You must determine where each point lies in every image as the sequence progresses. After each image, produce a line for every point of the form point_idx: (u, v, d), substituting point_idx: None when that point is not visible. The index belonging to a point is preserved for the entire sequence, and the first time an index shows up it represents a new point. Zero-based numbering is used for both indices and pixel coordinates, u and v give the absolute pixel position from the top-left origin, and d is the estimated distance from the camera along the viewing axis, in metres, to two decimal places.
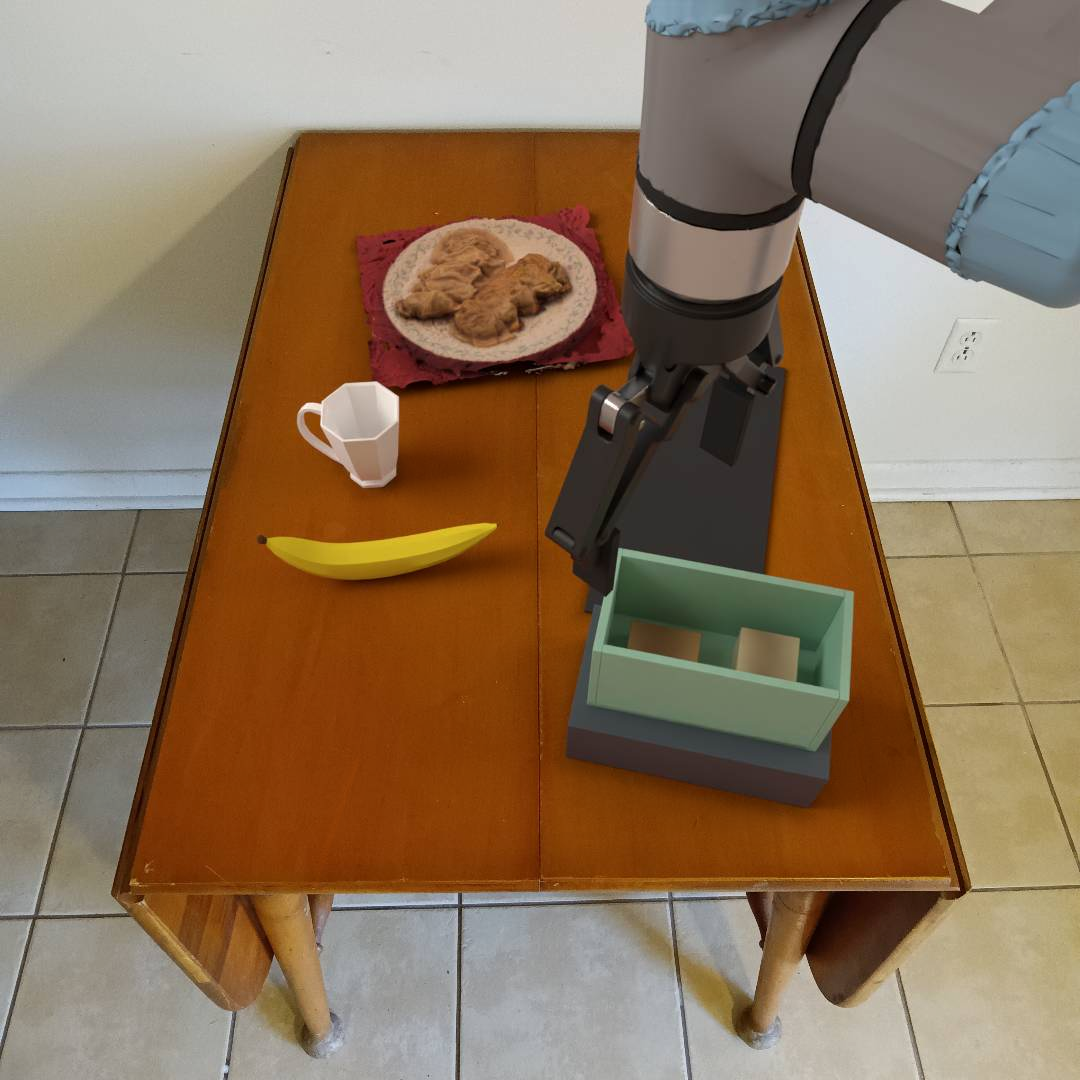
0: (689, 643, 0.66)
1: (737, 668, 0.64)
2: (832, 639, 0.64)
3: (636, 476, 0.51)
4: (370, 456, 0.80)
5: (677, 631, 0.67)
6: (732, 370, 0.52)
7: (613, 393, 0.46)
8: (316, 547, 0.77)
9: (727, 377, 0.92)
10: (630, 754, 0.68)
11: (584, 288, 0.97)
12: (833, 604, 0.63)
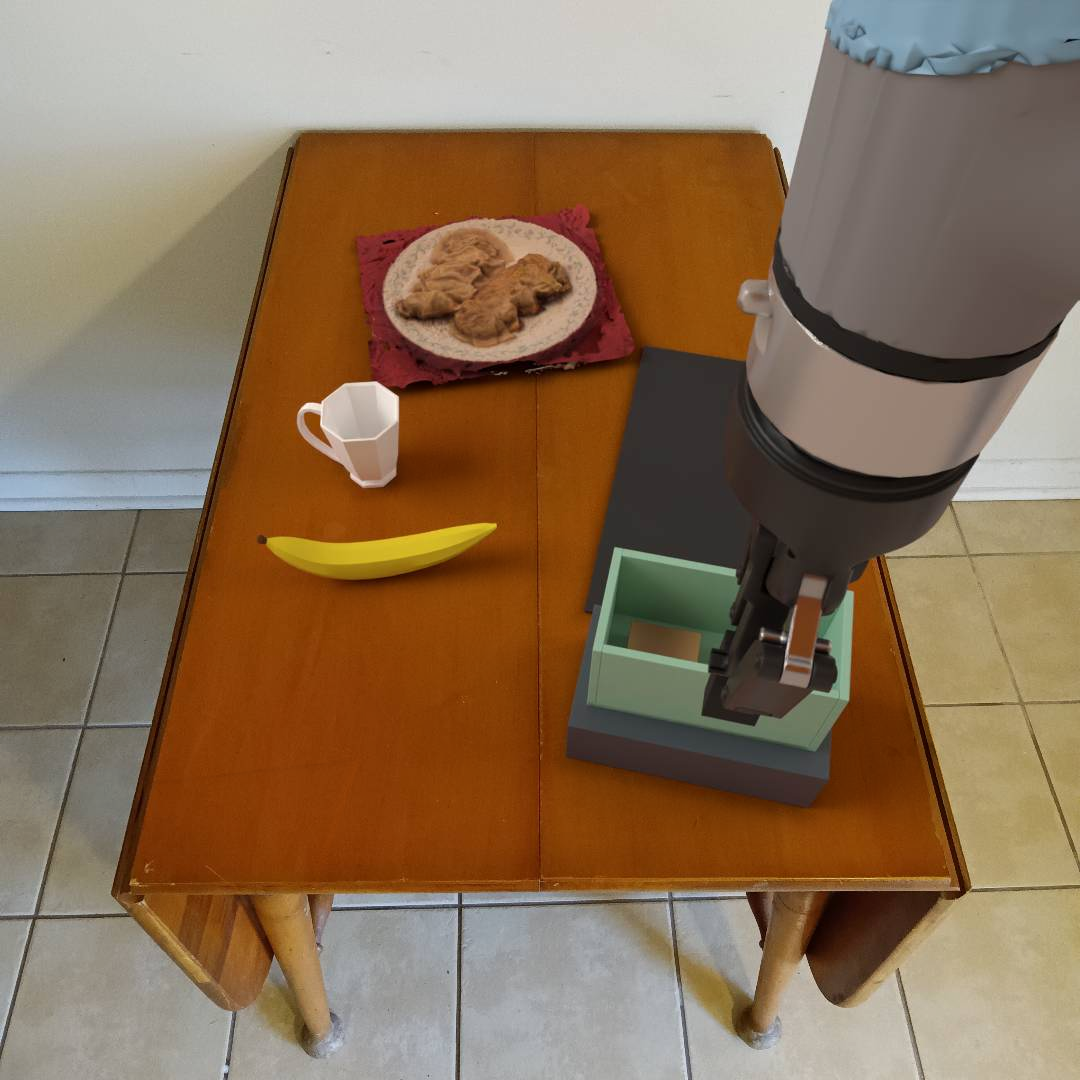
0: (689, 643, 0.66)
1: None
2: (832, 639, 0.64)
3: None
4: (370, 456, 0.80)
5: (677, 631, 0.67)
6: None
7: (787, 664, 0.31)
8: (316, 547, 0.77)
9: (727, 377, 0.92)
10: (630, 754, 0.68)
11: (584, 288, 0.97)
12: None
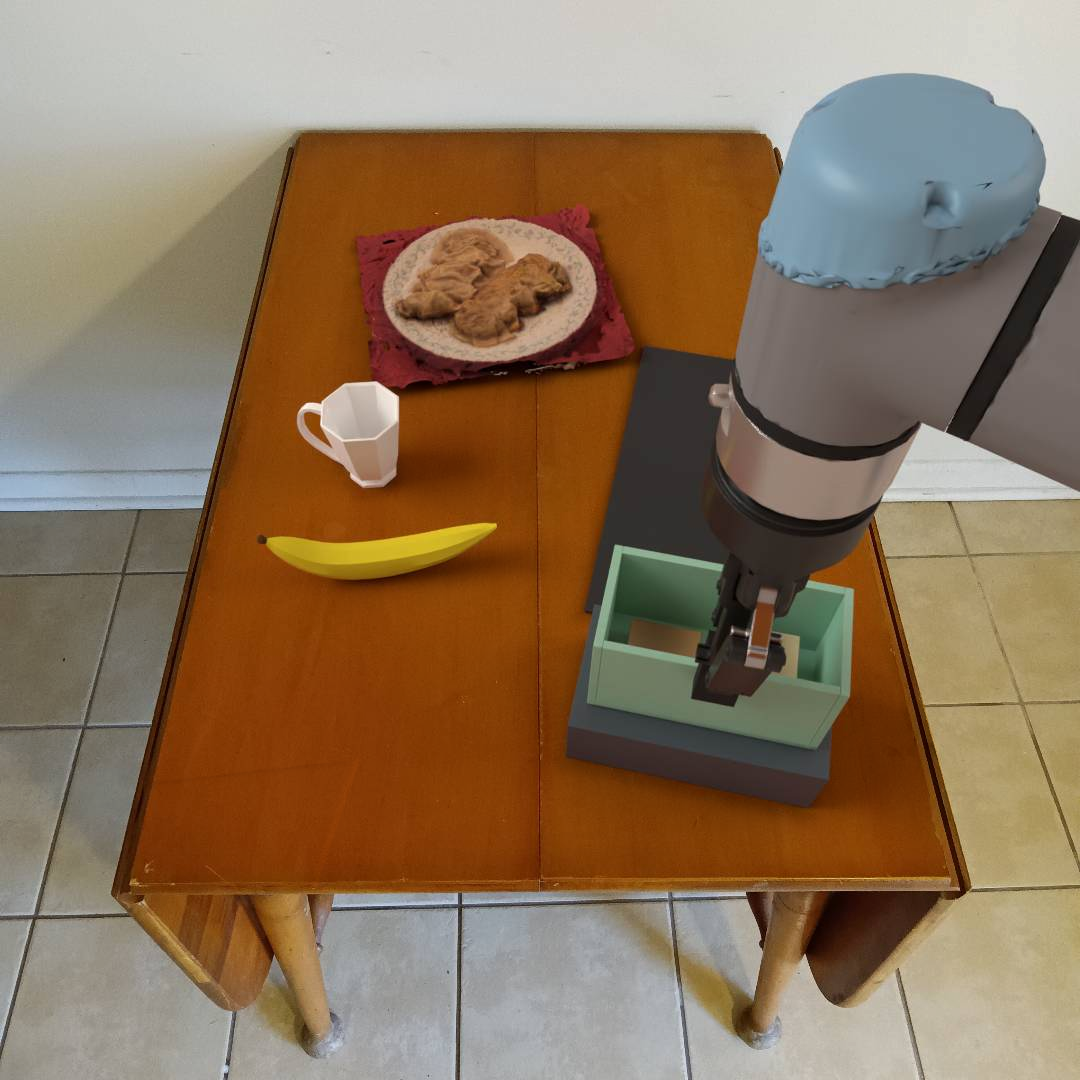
0: (689, 642, 0.66)
1: None
2: (832, 637, 0.64)
3: None
4: (370, 456, 0.80)
5: (677, 629, 0.67)
6: None
7: (749, 652, 0.43)
8: (316, 547, 0.77)
9: (727, 377, 0.92)
10: (630, 754, 0.68)
11: (584, 288, 0.97)
12: (833, 602, 0.63)
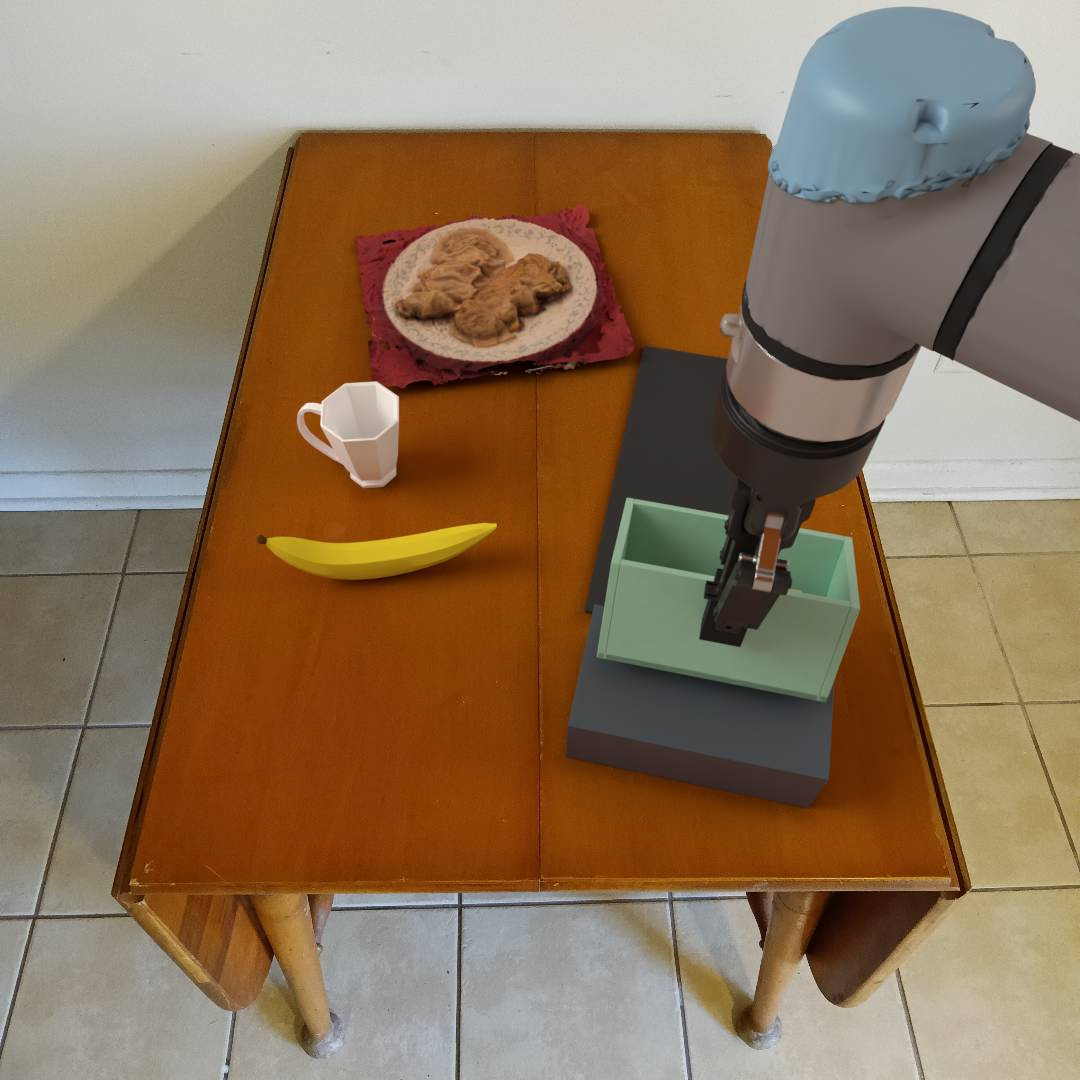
0: None
1: None
2: (835, 586, 0.66)
3: None
4: (370, 456, 0.80)
5: None
6: None
7: (757, 575, 0.45)
8: (316, 547, 0.77)
9: None
10: (630, 754, 0.68)
11: (584, 288, 0.97)
12: (833, 552, 0.67)
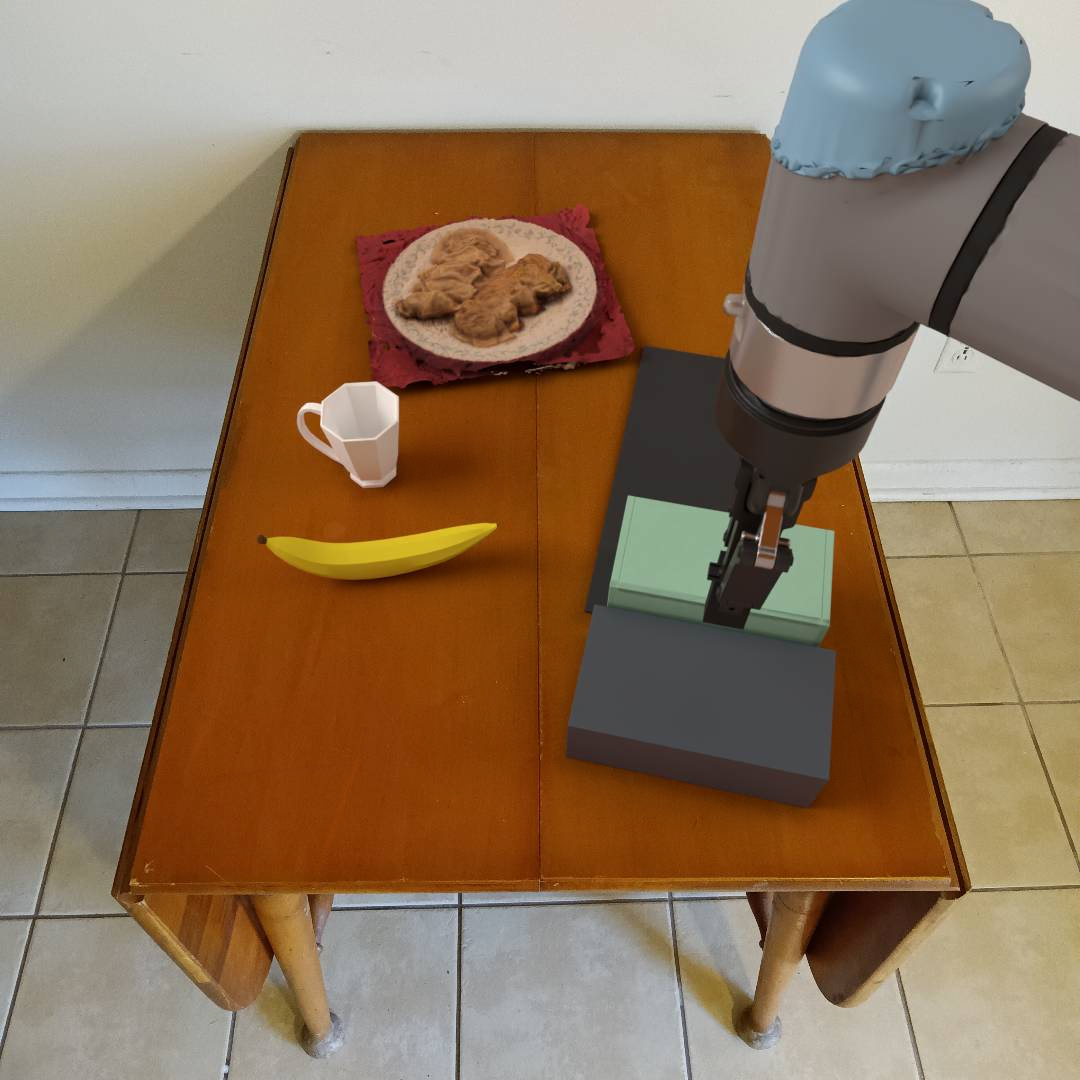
0: None
1: None
2: None
3: None
4: (370, 456, 0.80)
5: None
6: None
7: (759, 552, 0.46)
8: (316, 547, 0.77)
9: None
10: (630, 754, 0.68)
11: (584, 288, 0.97)
12: None
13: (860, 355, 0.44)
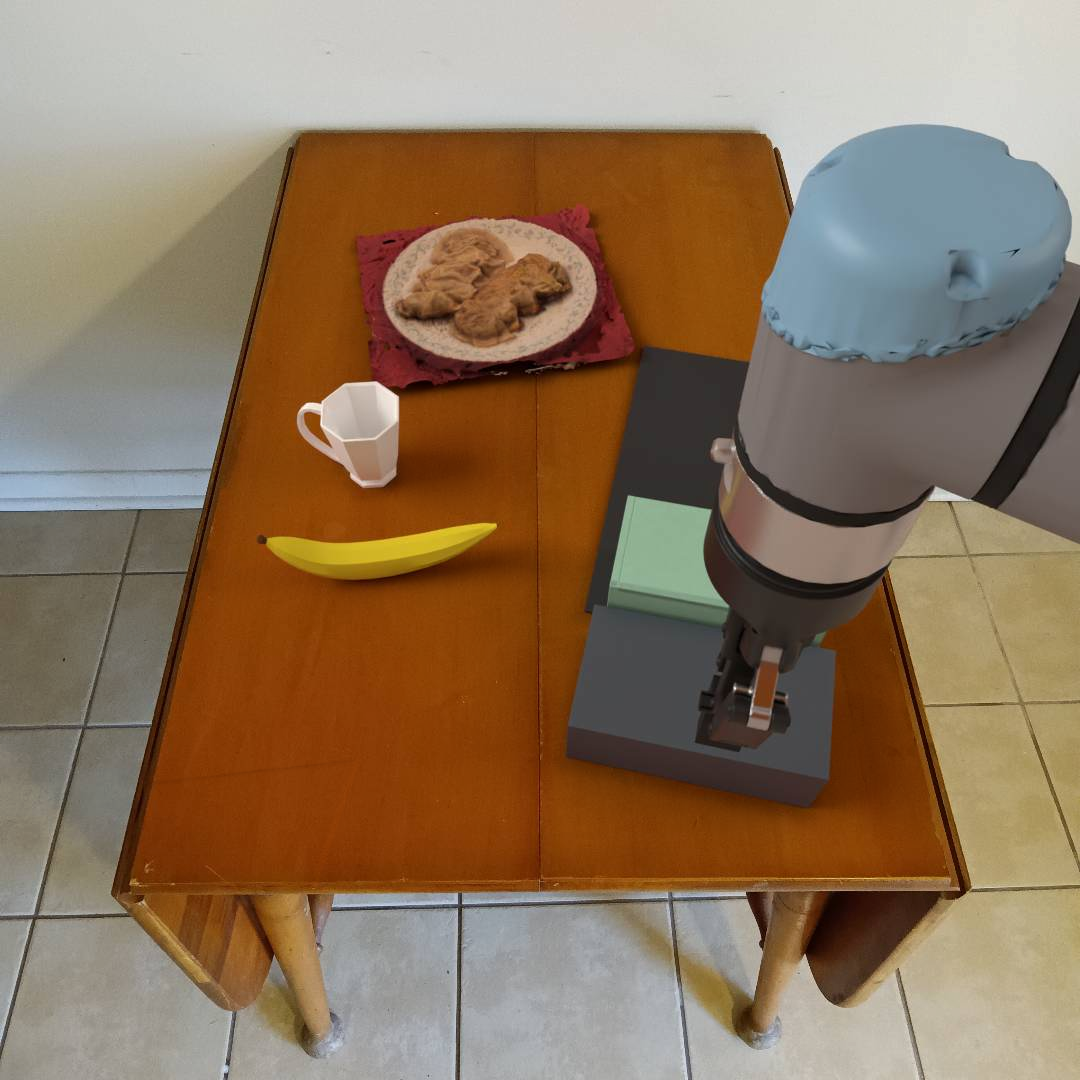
0: None
1: None
2: None
3: None
4: (370, 456, 0.80)
5: None
6: None
7: (752, 713, 0.41)
8: (316, 547, 0.77)
9: (727, 377, 0.92)
10: (630, 754, 0.68)
11: (584, 288, 0.97)
12: None
13: None
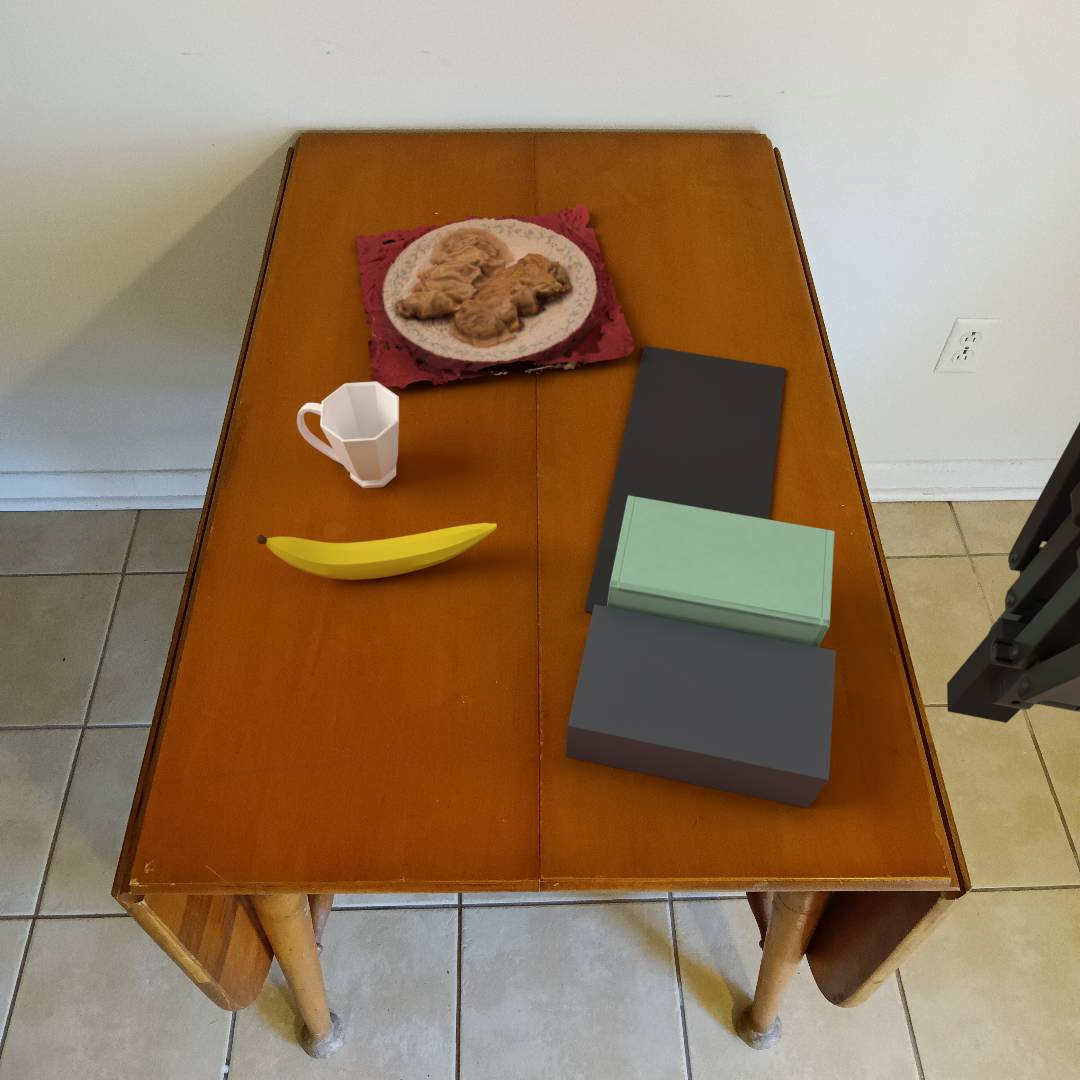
0: None
1: None
2: None
3: None
4: (370, 456, 0.80)
5: None
6: None
7: None
8: (316, 547, 0.77)
9: (727, 377, 0.92)
10: (630, 754, 0.68)
11: (584, 288, 0.97)
12: None
13: None
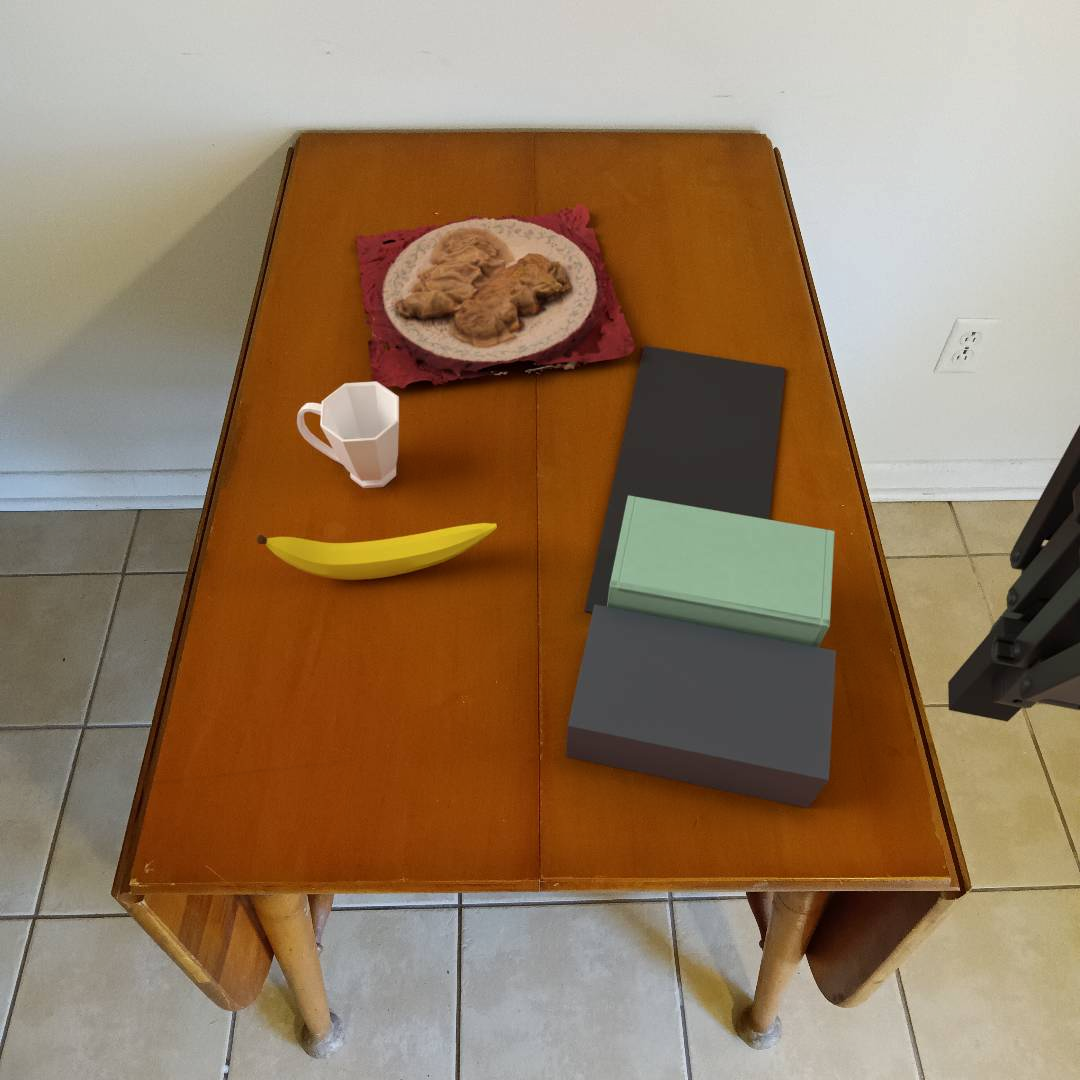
0: None
1: None
2: None
3: None
4: (370, 456, 0.80)
5: None
6: None
7: None
8: (316, 547, 0.77)
9: (727, 377, 0.92)
10: (630, 754, 0.68)
11: (584, 288, 0.97)
12: None
13: None
